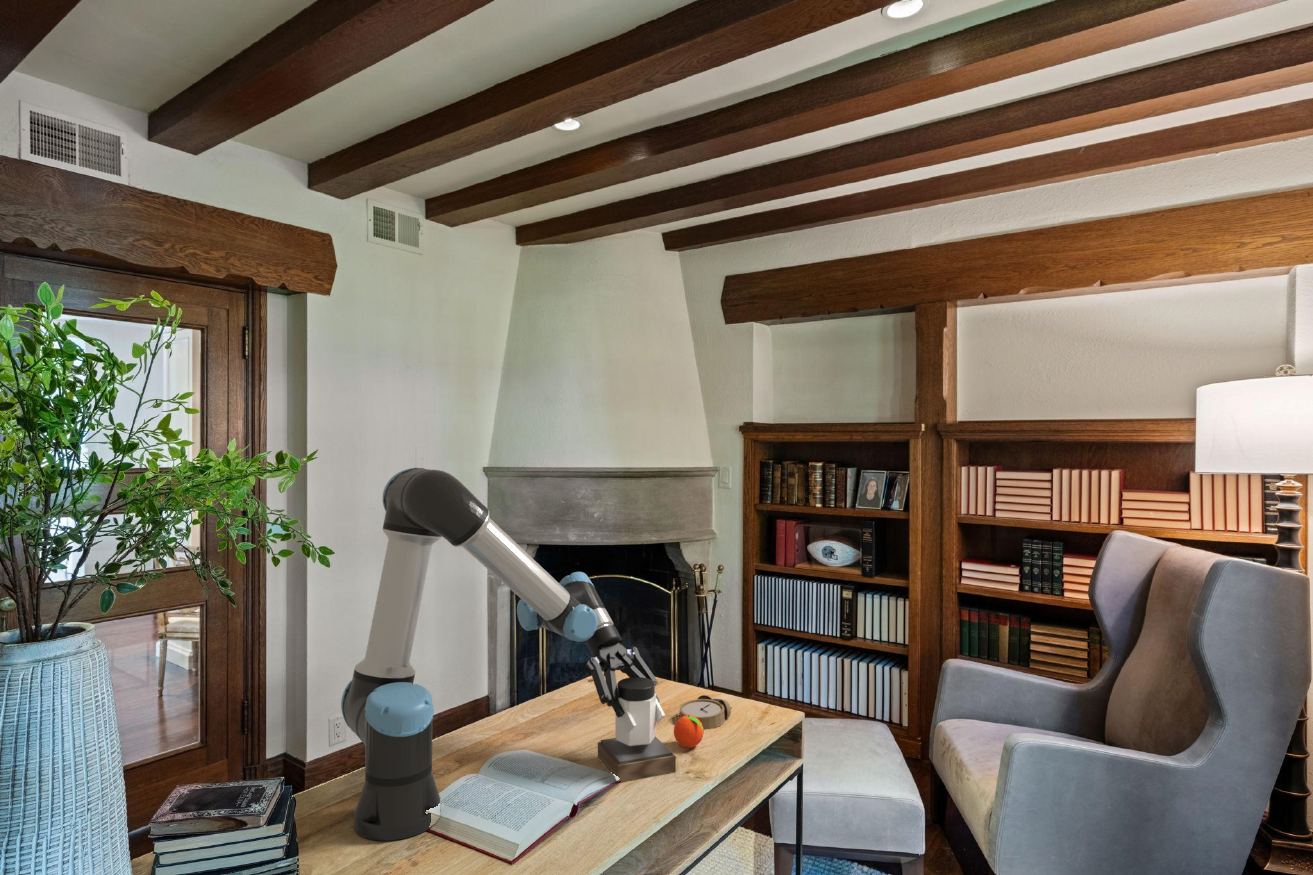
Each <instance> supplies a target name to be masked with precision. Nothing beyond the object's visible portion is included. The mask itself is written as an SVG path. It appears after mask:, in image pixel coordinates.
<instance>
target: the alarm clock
mask: <svg viewBox="0 0 1313 875" xmlns="http://www.w3.org/2000/svg"><path fill="white" fill-rule="evenodd" d="M730 704H731V703H730V702H728V701H727V700H726V699H722V698H712V697H711V696H710V695H709V694H702V695H699V696H698V697H697V698H696V699H692V700H688V701H685V702H684V703H682V704H681V705H680V707H679V716H678V717H676V720H678V719H680V718H681V717H683V716H686V715H691V716H694V717H696V718H697V719H699V720H700V722H701V723H702V726H703V729H704V730H712V729H717V728H718V727H720V726H722V725H723V724H724V723H725V720H726V719H729V718H730V717H731V714H732V709H733V708H732V706H731V705H730ZM726 717H727V718H726Z"/></svg>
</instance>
